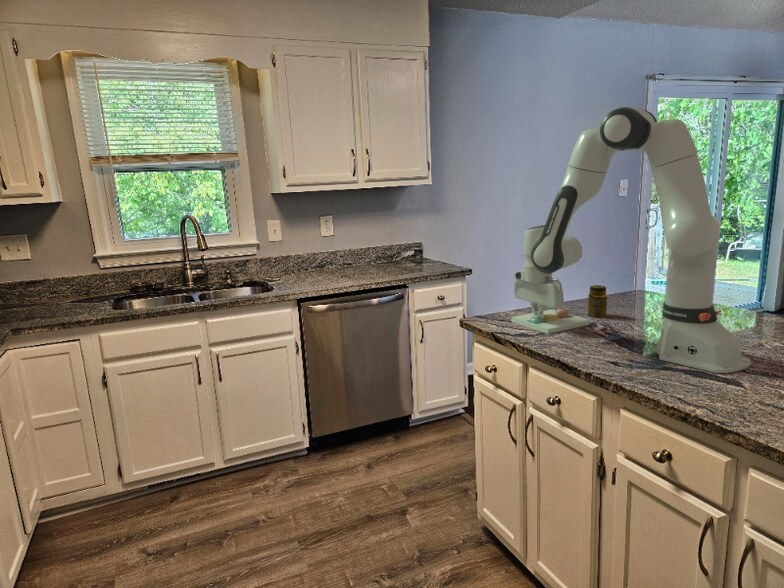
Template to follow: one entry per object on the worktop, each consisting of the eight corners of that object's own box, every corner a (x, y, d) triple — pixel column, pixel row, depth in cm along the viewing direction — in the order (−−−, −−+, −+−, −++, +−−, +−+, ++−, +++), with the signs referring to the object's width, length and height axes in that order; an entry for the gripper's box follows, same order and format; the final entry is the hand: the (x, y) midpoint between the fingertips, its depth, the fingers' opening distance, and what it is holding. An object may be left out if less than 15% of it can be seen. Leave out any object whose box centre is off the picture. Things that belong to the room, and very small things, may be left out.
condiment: (610, 319, 179) (612, 285, 176) (600, 325, 173) (601, 290, 171) (590, 316, 184) (591, 283, 181) (579, 321, 178) (580, 288, 176)
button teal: (546, 328, 170) (546, 318, 170) (536, 330, 169) (536, 320, 168) (537, 325, 174) (537, 316, 173) (527, 328, 172) (527, 318, 172)
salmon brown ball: (571, 320, 175) (571, 310, 174) (561, 322, 173) (561, 312, 172) (562, 317, 178) (562, 308, 178) (552, 319, 177) (553, 310, 176)
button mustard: (558, 326, 173) (558, 316, 172) (549, 328, 171) (549, 318, 170) (549, 323, 176) (550, 313, 176) (540, 325, 175) (540, 315, 174)
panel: (589, 328, 170) (589, 319, 169) (547, 338, 162) (547, 329, 161) (551, 317, 185) (551, 309, 185) (511, 325, 178) (511, 317, 177)
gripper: (568, 277, 159) (568, 320, 162) (525, 270, 178) (525, 308, 181) (553, 280, 157) (553, 324, 160) (510, 272, 175) (511, 311, 178)
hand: (538, 315), depth 170 cm, fingers closed
